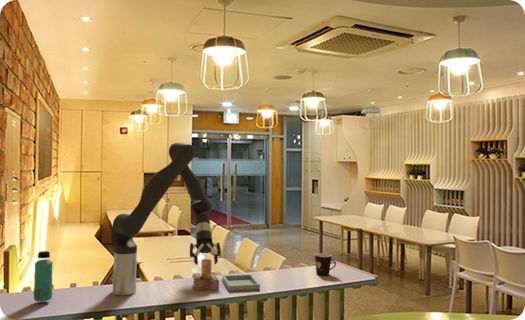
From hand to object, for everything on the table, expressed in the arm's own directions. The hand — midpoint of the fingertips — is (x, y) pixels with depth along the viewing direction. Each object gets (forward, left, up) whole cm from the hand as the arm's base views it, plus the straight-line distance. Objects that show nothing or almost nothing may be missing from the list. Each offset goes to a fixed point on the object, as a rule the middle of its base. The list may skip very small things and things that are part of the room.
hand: (206, 263), depth 194 cm
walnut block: (0, -1, -10) cm, 10 cm away
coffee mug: (+62, +9, -11) cm, 64 cm away
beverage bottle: (-65, -11, -11) cm, 67 cm away
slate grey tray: (+16, -1, -10) cm, 19 cm away
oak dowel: (0, -1, -10) cm, 10 cm away
